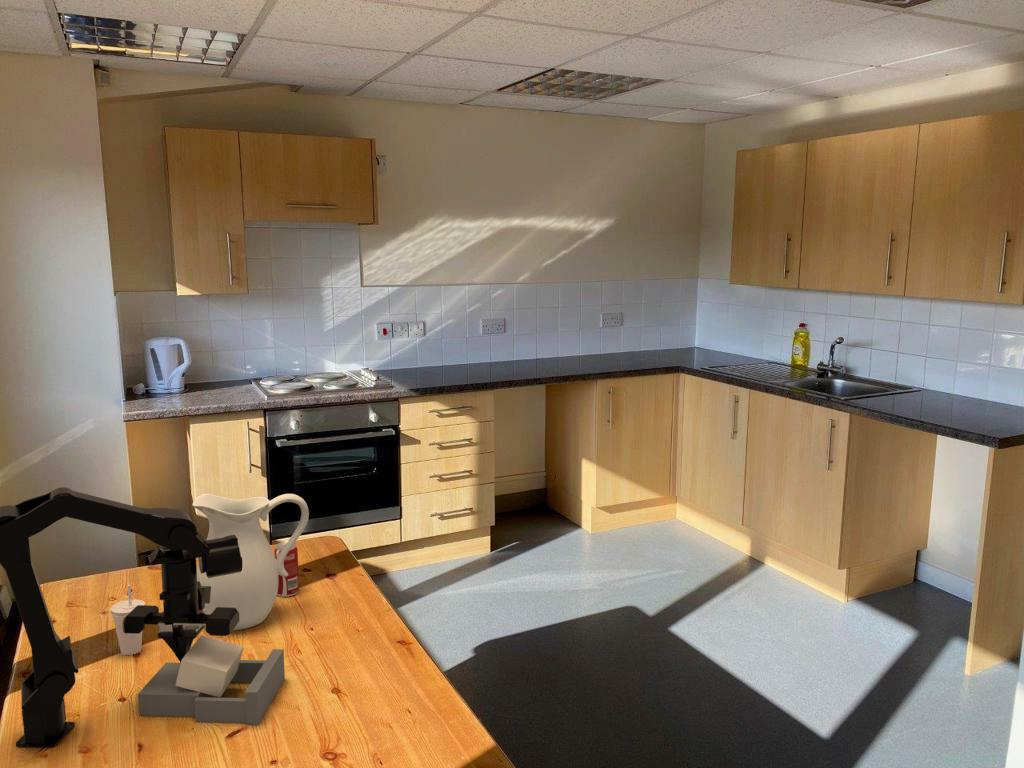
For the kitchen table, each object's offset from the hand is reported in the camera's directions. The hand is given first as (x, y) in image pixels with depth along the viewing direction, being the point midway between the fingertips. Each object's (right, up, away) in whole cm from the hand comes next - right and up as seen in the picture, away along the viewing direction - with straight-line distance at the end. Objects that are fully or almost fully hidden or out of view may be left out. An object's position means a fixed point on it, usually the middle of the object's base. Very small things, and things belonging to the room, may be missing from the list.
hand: (184, 664), depth 146 cm
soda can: (+6, +1, +46) cm, 47 cm away
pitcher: (+2, -1, +34) cm, 34 cm away
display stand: (+5, -7, +1) cm, 8 cm away
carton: (+4, -2, 0) cm, 5 cm away
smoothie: (-18, -4, +18) cm, 26 cm away
